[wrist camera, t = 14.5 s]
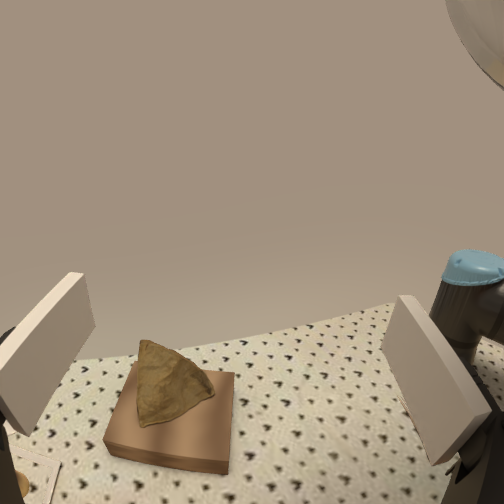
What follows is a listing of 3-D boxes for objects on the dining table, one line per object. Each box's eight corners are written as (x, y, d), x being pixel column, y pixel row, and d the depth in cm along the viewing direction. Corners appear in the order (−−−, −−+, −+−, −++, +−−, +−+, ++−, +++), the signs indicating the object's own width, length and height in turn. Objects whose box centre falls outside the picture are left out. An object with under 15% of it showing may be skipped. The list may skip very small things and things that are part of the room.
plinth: (233, 390, 44) (234, 372, 42) (228, 474, 30) (228, 461, 28) (138, 378, 43) (134, 360, 42) (110, 455, 30) (102, 439, 28)
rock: (216, 359, 41) (145, 349, 39) (226, 346, 34) (138, 334, 32) (211, 434, 36) (137, 424, 34) (221, 439, 29) (128, 428, 27)
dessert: (64, 465, 26) (50, 446, 24) (46, 538, 15) (27, 526, 13) (-2, 441, 25) (-17, 421, 23) (-25, 502, 14) (-46, 486, 12)
